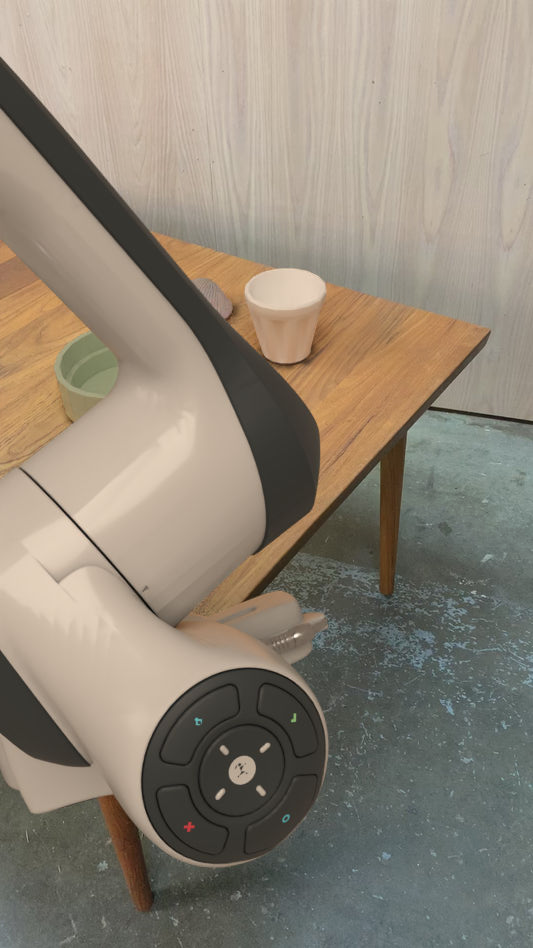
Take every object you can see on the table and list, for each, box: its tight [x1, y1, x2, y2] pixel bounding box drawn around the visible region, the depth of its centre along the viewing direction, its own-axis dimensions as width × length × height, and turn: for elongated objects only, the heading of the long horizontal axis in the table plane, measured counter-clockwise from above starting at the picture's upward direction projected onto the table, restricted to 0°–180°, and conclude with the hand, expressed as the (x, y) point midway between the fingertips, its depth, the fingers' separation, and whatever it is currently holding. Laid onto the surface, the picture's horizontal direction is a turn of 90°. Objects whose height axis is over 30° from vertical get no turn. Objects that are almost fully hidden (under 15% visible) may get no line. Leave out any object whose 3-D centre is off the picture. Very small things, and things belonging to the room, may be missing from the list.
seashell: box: [190, 277, 233, 320], centre depth 107 cm, size 10×6×10 cm
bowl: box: [53, 330, 118, 423], centre depth 92 cm, size 15×15×6 cm
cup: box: [243, 267, 327, 366], centre depth 97 cm, size 10×10×9 cm
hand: (138, 659), depth 55 cm, fingers open, 8 cm apart
